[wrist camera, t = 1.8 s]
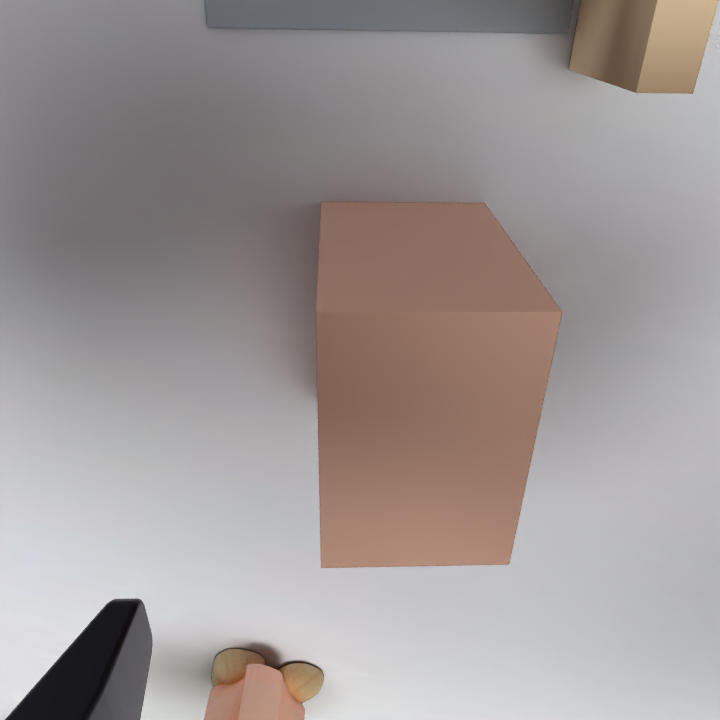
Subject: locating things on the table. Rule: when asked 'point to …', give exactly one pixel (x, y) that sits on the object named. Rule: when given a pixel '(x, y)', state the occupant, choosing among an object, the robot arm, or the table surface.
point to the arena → (520, 29)
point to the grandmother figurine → (259, 688)
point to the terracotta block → (425, 383)
